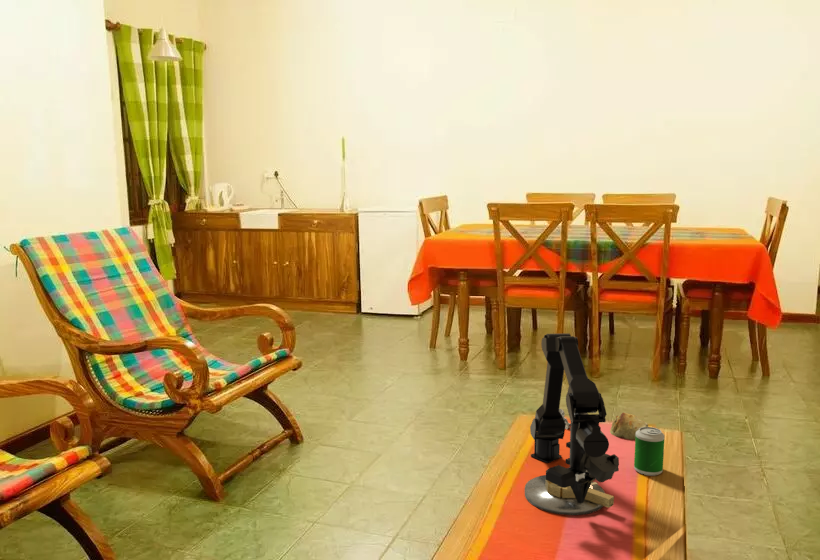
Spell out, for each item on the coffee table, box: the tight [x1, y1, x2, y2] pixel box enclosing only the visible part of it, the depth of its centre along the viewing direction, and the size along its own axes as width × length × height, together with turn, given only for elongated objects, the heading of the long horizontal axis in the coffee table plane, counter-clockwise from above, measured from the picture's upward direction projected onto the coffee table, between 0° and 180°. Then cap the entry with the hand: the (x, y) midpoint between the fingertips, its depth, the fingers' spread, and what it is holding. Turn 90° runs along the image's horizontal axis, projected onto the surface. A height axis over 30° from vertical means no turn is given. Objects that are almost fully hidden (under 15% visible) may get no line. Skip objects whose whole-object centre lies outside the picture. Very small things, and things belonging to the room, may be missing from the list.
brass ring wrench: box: [545, 480, 615, 509], centre depth 175 cm, size 18×9×3 cm, turn 45°
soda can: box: [633, 426, 665, 477], centre depth 192 cm, size 8×8×12 cm
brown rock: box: [609, 412, 649, 441], centre depth 217 cm, size 14×12×8 cm
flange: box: [524, 474, 606, 516], centre depth 178 cm, size 20×20×4 cm
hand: (580, 502), depth 168 cm, fingers closed
